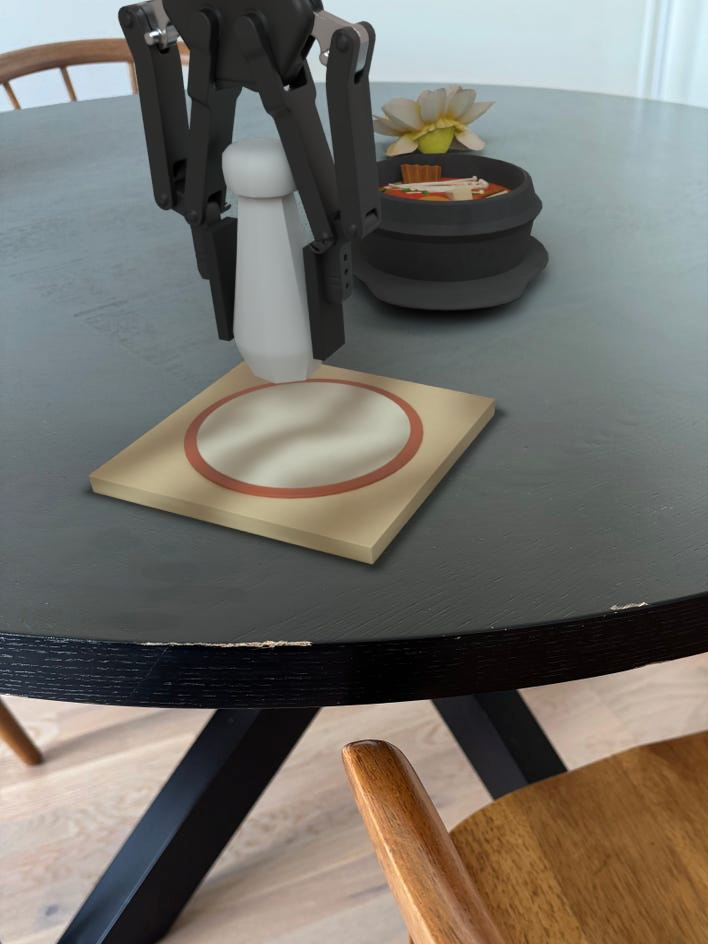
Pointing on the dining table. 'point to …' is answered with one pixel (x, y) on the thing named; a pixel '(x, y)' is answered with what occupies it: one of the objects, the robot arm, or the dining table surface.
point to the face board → (301, 456)
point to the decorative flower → (432, 121)
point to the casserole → (451, 233)
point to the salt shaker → (269, 263)
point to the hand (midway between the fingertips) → (282, 340)
